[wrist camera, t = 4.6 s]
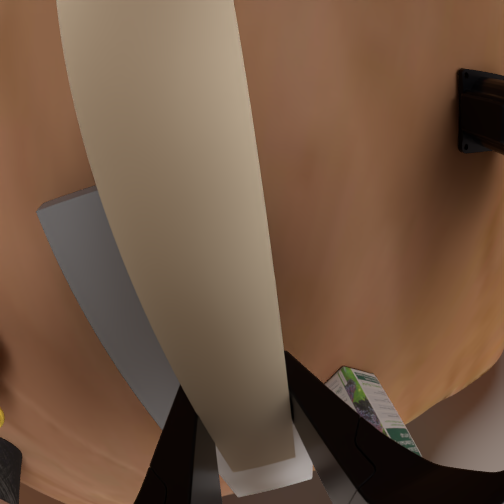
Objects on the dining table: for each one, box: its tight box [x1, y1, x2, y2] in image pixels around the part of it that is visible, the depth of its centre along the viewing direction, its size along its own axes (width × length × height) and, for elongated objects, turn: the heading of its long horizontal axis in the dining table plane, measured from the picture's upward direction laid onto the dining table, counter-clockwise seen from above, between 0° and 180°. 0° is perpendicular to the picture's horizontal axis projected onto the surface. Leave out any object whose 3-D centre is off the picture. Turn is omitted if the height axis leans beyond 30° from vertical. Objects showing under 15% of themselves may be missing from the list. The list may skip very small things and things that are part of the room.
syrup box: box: [325, 367, 422, 457], centre depth 24 cm, size 6×6×14 cm
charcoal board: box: [36, 185, 180, 430], centre depth 23 cm, size 12×28×1 cm, turn 9°
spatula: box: [56, 0, 313, 497], centre depth 10 cm, size 5×24×3 cm, turn 9°
